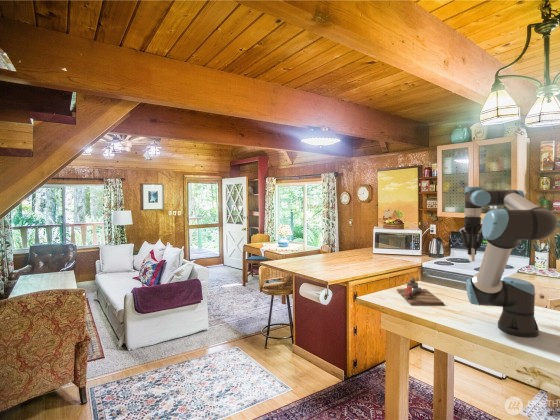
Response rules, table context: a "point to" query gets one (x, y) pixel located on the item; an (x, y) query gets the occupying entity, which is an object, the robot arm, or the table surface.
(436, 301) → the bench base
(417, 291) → the lever
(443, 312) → the table surface
